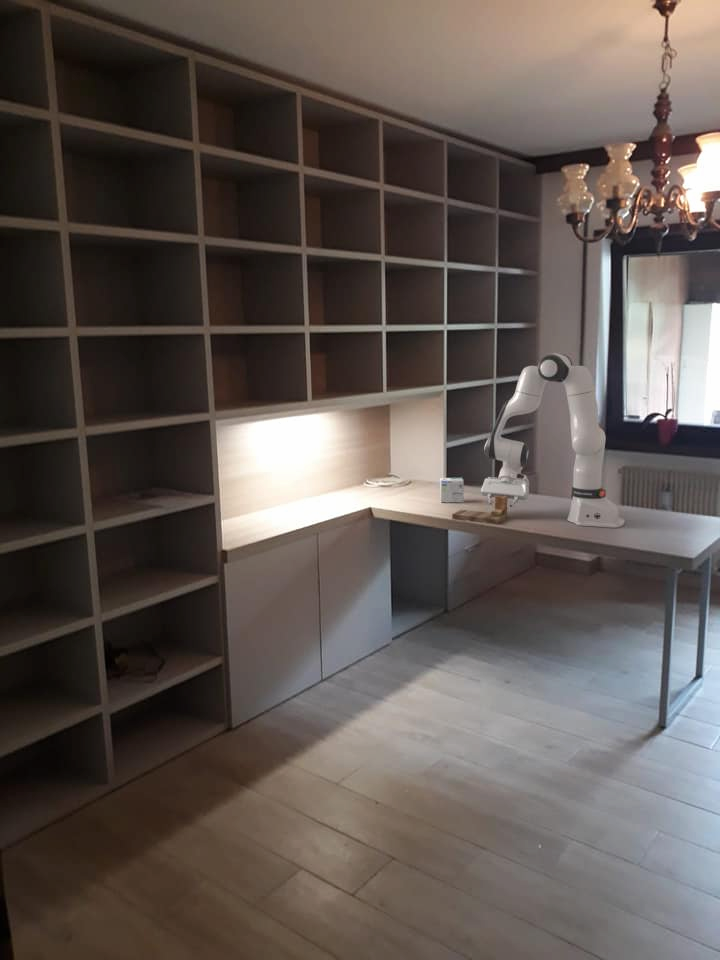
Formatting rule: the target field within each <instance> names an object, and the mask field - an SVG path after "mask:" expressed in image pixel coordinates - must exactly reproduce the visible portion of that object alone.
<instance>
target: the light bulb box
mask: <svg viewBox="0 0 720 960" xmlns="http://www.w3.org/2000/svg"><path fill="white" fill-rule="evenodd" d="M464 485H465V483H464V479H463V477H440V478H439V497H440V498H439V501H441V502H440V504H443V503H442V502H463V503H464V490H465V488H464V487H465V486H464Z"/></svg>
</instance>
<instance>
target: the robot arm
mask: <svg viewBox="0 0 720 960" xmlns="http://www.w3.org/2000/svg"><path fill="white" fill-rule="evenodd" d="M548 382H553V383H554V382H555V383H562V384H563V385H564V389H565V392H566V393H565V395H566V398H567V404H568V410H569V416H570V417H569V418H570V420H569V421H570V434H571V435H570V436H571V445H572V446H571V447H572V449H573V451H574V452H575V453H576V454H575V460H574V464H573V476H572V477H573V478H572V479H573V480H572V486H571V491H570V499H571V502H570V508H569V513H568V516H567V517H566V518H567V521H568V522H569V523H573V524H575V525H577V526H583V527H584V526H585V527H599V528H614V529H616V528H621V527H622V526H624V525H625V519H624V518H621V517H620V513H619V509H618V506H616V505H615V504H614V503H613V502H612V501H611V500H609V499H608V498H607V497H606V495H607V494H606V493H607V489H606V488H605V489H604V488H602V475H603V474H602V471H603V463H604V456H605V447H606V446H605V445H606V439H607V437H606V433H605V431H604V430H603V429H602V428H601V427H600V425H599V407H598V401H597V395H596V389H595V386H594V381H593V378H592V375H591V372H590V370H589V368H587V367H586V366H584V365H573V362H572V360H571V358H570V357H569V356H567V355H566V354H563V353H556V352H555V353H549V354H546V355H545V356H543V357H542V358H541V359H540V360H539V362H538V363H537V365H528V366H526V367H524V368H523V369H522V371H521V372H520V376H519V378H518V380H517V384H516V388H515V392H514V394H513V396H512V397H511V398H510V399H508V400H506V401H505V402H504V403H503V405H502V407H501V409H500V411H499V414H498V417H497V418H496V421H495V423H494V426H493V428H492V430H491V433H490V435H489V436H488V438H487V440H486V442H485V444H484V448H483V449H484V450H483V453H484V455H485V456H486V457H487V458H488V459H489V460H494V461H501V462H502V466H501V468H500V471H499V474H498V477H497V476H496V477H494V476H488V477H485V479H484V480H483V484H482V487H481V489H480V493H481V494H482V496H483V497H487V498H488V502H487V503H488V504H487V505H488V506H489V505H490V506H493V503H494V500H493V499H492V498H495V497H496V496H498V495H503V496H507V500H510V499H511V500H512V501H510V502H509V507H510V508H514V507H515V505H516V504H517V503H518V502H519V501H527V500H528V499H529V494H530V488H529V487H530V481H529V479H528V476H527V475H526V474H523V473H522V470H523V469H524V467H525V466H526V465H527V462H528V458H529V456H530V448H529V447H528V445H527V443H525V442H522V441H517V440H512V439H509V438H505V437H502V436H501V435H502V432H503V429H504V428H505V426H506V423H507V421H508V419H510V418H511V417H514V416H521V415H526V414H531V413H533V412H534V411H536V410H537V409H538V408H539V406H540V404H541V400H542V399H543V398H542V396H543V394H544V389H545V387H546V386H545V385H547V383H548Z"/></svg>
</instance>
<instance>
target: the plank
mask: <svg viewBox="0 0 720 960" xmlns="http://www.w3.org/2000/svg"><path fill="white" fill-rule="evenodd" d="M451 519H452V520H458V521H465V520H469V521H468V522H474V521H476V523H482V522H485V523H484V524H491V523H493V524H492V525H499V524H500V522H501V521H502V522H504V521H505V520H506V519H507V517H506V514H501V515H499V516H493V515H491V512H487V511H477V510H468V509H459V510H457V511H455V512H454V513H452V514H451ZM504 519H505V520H504ZM503 520H504V521H503ZM502 522H501V523H502Z"/></svg>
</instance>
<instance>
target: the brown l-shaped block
mask: <svg viewBox="0 0 720 960" xmlns="http://www.w3.org/2000/svg"><path fill="white" fill-rule="evenodd" d="M494 498H495V499H494V502H495V503H494V509H493V510H492V511H491V512H490V513H491V515H493V516H499V515H501V514H506V516H508V498H507V496H503V495H498V496H496V497H494Z"/></svg>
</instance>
